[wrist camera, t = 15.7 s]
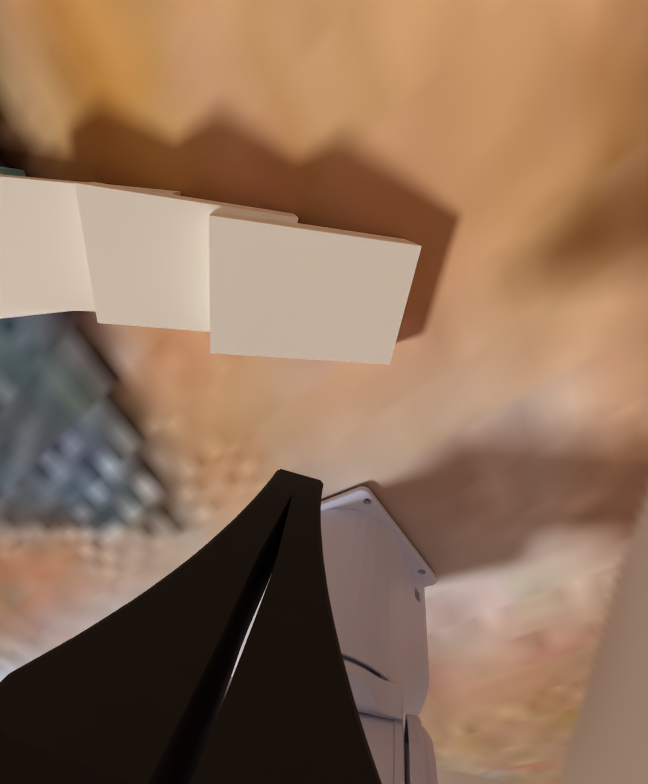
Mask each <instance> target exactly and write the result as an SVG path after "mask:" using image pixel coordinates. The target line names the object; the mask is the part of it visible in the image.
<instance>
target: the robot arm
mask: <svg viewBox="0 0 648 784" xmlns="http://www.w3.org/2000/svg"><path fill="white" fill-rule="evenodd" d="M322 489H323V483H322V482H321V480H317V479H314V478H310V477H307V476H303V475H300V474H296V473H293V472H289V471H286V470H282V469H280V470H278V471H276V473H275V474H274V476H273V477H272V478H271V479H270V481H269V482H268V483H267V484H266V486H265V487H264V488H263V489H262V490H261V492H260V493H259V494H258V495H257V496H256V497H255V498H254V499H253V500H252V501H251V502H250V503H249V505H248V506H247V507H246V508H245V509H244V510H243V511H242V512H241V513H240V514H239V515H238V516H237V517H236V518H235V519H234V520H233V521H232V522H231V523H230V524H228V525H227V526H226V527H225V528H224V529H223V530H222V531H221V532H220V533H219V534H217V535H216V536H215V537H214V538H213V539H212V540H211V541H210V542H209V543H208V544H206V545H205V546H204V547H203V548H202V549H200V550H199V551H198V552H197V553H196V554H194V555H193V556H192V557H191V558H190V559H188V560H187V561H186V562H184V563H183V564H182V565H181V566H179V567H178V568H177V569H175V570H174V571H173V572H172V573H170V574H169V575H167V576H166V577H165V578H163V579H162V580H161V581H159V582H158V583H156V584H155V585H154V586H152V587H151V588H150V589H148V590H147V591H145V592H144V593H142V594H141V595H139V596H138V597H137V598H135V599H134V600H132V601H131V602H129V603H128V604H126V605H124V606H123V607H121V608H120V609H118V610H117V611H115V612H113V613H112V614H110V615H109V616H107V617H105V618H104V619H102V620H101V621H99V622H98V623H96V624H94V625H93V626H91V627H90V628H88V629H87V630H85V631H83V632H82V633H80V634H78V635H77V636H75V637H73V638H71V639H70V640H68V641H66V642H64V643H63V644H61V645H59V646H57V647H55V648H54V649H52V650H50V651H48V652H47V653H45V654H43V655H41V656H40V657H38V658H36V659H34V660H32V661H31V662H29V663H27V664H25V665H24V666H22V667H20V668H18V669H16V670H15V671H13V672H11V673H10V674H8V675H7V676H6V677H5V678H4V679H3V680H2V681H1V682H0V784H438V782H437V770H436V761H435V753H434V747H433V742H432V739H431V737H430V735H429V734H428V732H427V731H426V729H425V728H424V727H423V726H422V722H421V720H420V718H419V717H418V716H419V714H420V712H421V710H422V707H423V705H424V702H425V699H426V695H427V691H428V686H429V662H428V644H427V627H426V609H425V592H424V587H426V586H430V585H433V584H435V583H436V576H435V574H434V573H433V571H432V570H431V569H430V567H429V566H428V565H427V564H426V562H425V561H424V560H423V558H422V557H421V556H420V554H419V553H418V552H417V550H416V549H415V548H414V547H413V545H412V544H411V543H410V541H409V540H408V539H407V537H406V536H405V535H404V533H403V532H402V531H401V530H400V528H399V527H398V526H397V524H396V523H395V522H394V520H393V519H392V518H391V517H390V515H389V514H388V513H387V511H386V510H385V509H384V507H383V506H382V505H381V503H380V502H379V501H378V500H377V498H376V497H375V496H374V494H373V493H372V492H371V490H370V489H369V488H367V487H364V486H361V487H357V488H355V489H352V490H350V491H347V492H344V493H342V494H339V495H337V496H334V497H332V498H329V499H326V500H324V501H321V496H322ZM365 499H369V500H365ZM271 574H272V575H271ZM269 579H270V580H269ZM268 581H269V583H268ZM267 584H268V585H267ZM266 586H267V588H266ZM265 588H266V591H265ZM264 591H265V594H264V596H263V599H262V602H261V604H260V607H259V610H258V612H257V615H256V618H255V620H254V623H253V626H252V628H251V631H250V634H249V636H248V639H247V641H246V644H245V647H244V649H243V652H242V654H241V657H240V660H239V662H238V665H237V667H236V670H235V672H234V675H233V677H231V675H232V672H233V669H234V666H235V663H236V660H237V657H238V654H239V651H240V648H241V646H242V643H243V641H244V638H245V635H246V633H247V630H248V628H249V626H250V623H251V621H252V619H253V616H254V614H255V612H256V609H257V607H258V605H259V602H260V600H261V598H262V595H263V593H264Z"/></svg>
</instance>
